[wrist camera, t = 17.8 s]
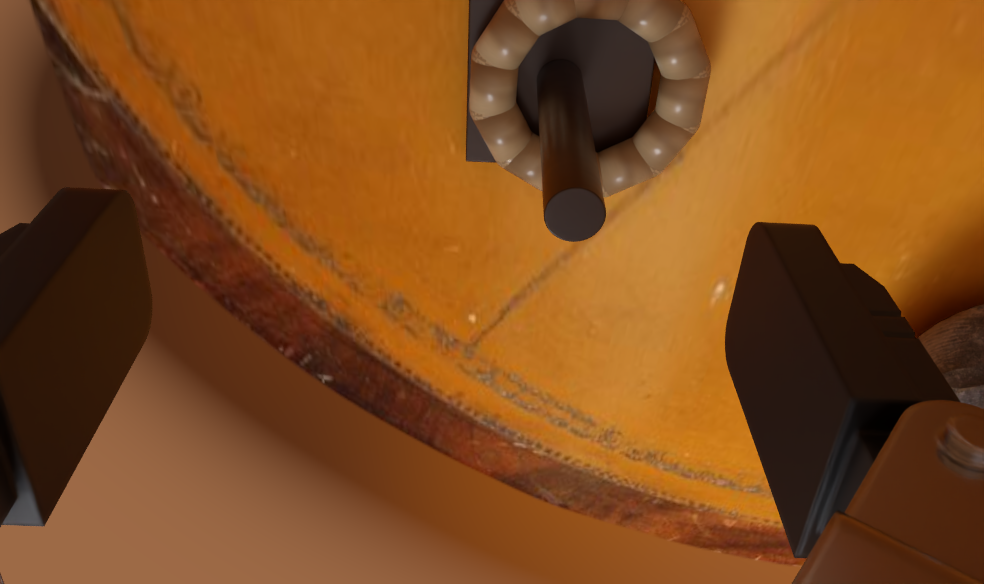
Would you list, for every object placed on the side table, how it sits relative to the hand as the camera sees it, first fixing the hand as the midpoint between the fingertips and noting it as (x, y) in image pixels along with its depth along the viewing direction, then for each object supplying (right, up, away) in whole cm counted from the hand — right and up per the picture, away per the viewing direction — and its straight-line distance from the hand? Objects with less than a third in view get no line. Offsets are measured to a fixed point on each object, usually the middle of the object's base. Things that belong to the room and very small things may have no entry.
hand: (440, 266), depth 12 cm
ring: (+5, +8, +26) cm, 28 cm away
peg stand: (+4, +9, +28) cm, 30 cm away
